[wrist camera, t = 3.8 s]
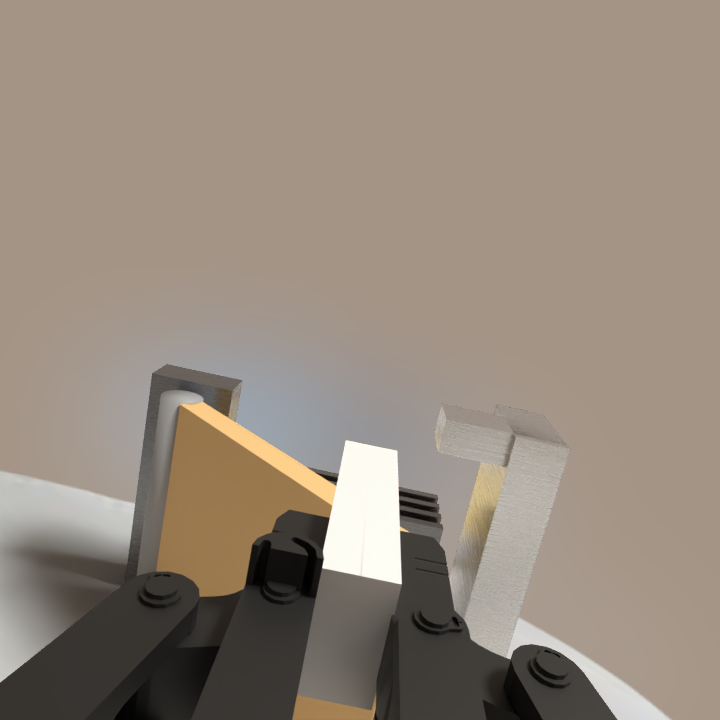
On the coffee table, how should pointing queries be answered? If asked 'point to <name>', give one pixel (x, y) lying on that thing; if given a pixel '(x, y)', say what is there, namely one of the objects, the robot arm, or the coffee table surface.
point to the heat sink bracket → (420, 510)
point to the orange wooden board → (223, 507)
